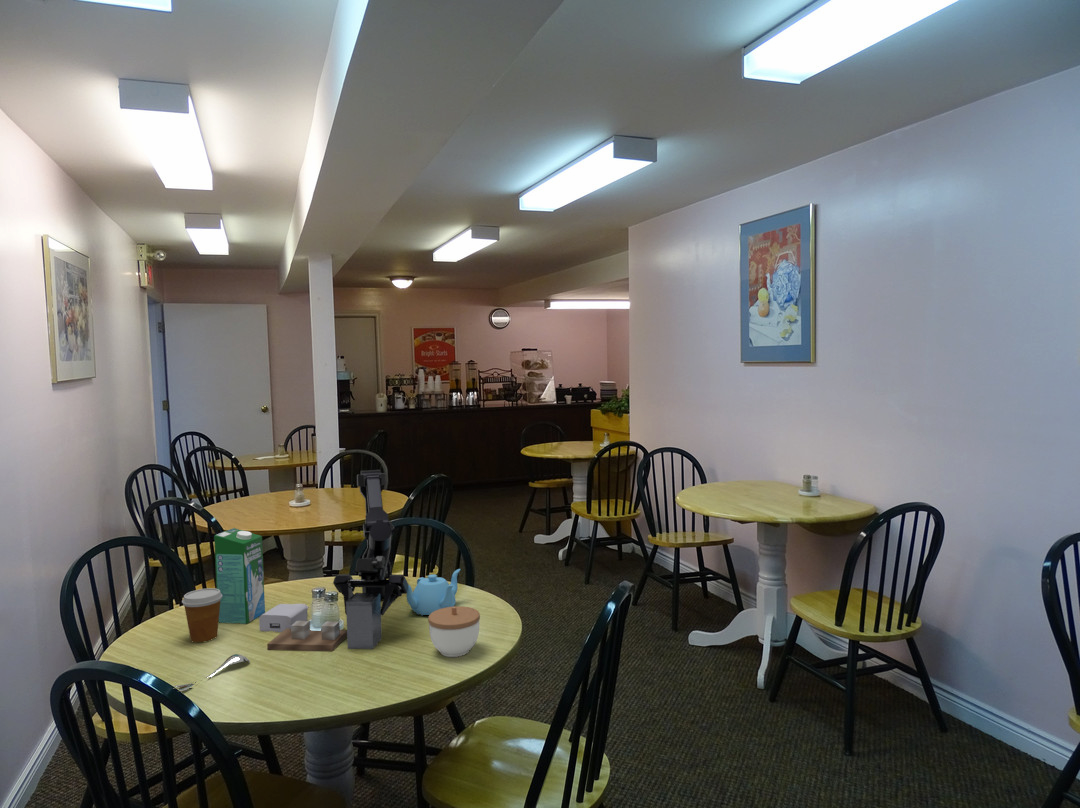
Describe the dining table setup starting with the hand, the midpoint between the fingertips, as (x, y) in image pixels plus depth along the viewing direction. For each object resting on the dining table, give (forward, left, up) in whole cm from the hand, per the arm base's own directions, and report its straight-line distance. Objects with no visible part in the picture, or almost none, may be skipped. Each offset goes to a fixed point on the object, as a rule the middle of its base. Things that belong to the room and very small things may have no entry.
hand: (363, 614), depth 171 cm
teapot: (-26, -9, -8) cm, 28 cm away
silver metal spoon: (+35, -6, -8) cm, 37 cm away
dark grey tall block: (0, 0, -8) cm, 8 cm away
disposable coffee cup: (+30, -33, -8) cm, 45 cm away
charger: (+9, -29, -8) cm, 32 cm away
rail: (+10, -11, -8) cm, 17 cm away
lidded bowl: (-15, +19, -8) cm, 26 cm away
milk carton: (+18, -42, -8) cm, 46 cm away
